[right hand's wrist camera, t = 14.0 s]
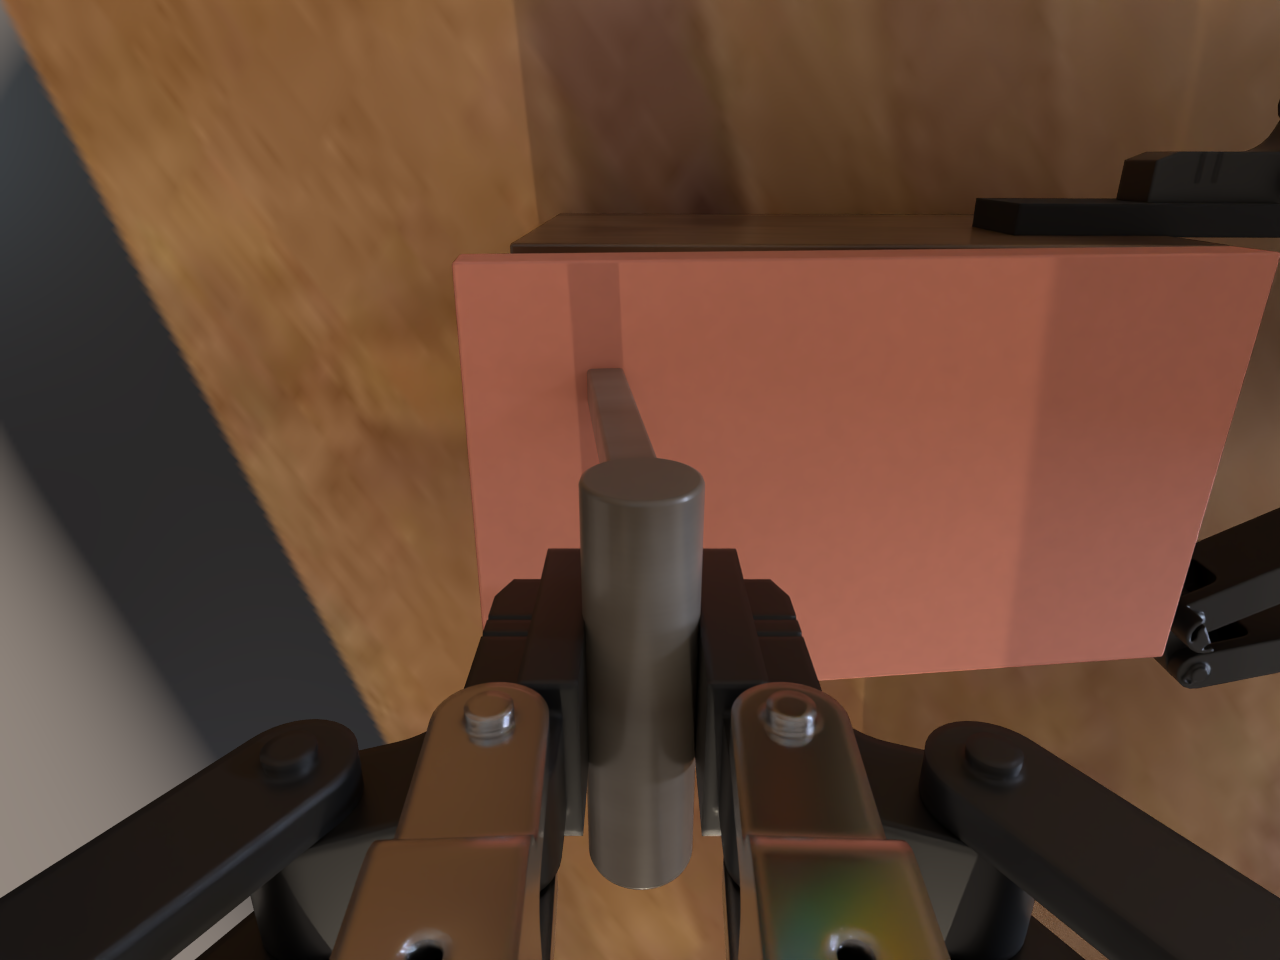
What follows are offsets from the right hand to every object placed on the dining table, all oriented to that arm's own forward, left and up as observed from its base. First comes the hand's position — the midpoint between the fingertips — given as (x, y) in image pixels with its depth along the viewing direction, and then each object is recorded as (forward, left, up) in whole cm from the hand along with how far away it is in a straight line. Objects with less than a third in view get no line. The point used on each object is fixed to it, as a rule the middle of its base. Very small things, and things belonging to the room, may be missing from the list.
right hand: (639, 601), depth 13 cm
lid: (-3, -4, -6) cm, 7 cm away
